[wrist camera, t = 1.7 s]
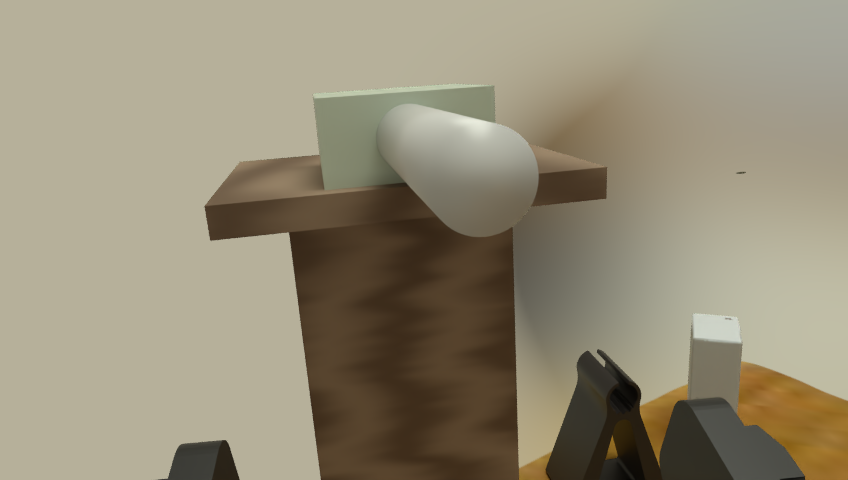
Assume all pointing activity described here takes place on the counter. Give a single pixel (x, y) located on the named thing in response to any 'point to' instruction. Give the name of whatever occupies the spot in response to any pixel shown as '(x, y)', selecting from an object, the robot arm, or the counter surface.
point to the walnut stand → (398, 316)
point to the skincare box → (715, 358)
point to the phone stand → (603, 428)
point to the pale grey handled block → (430, 151)
